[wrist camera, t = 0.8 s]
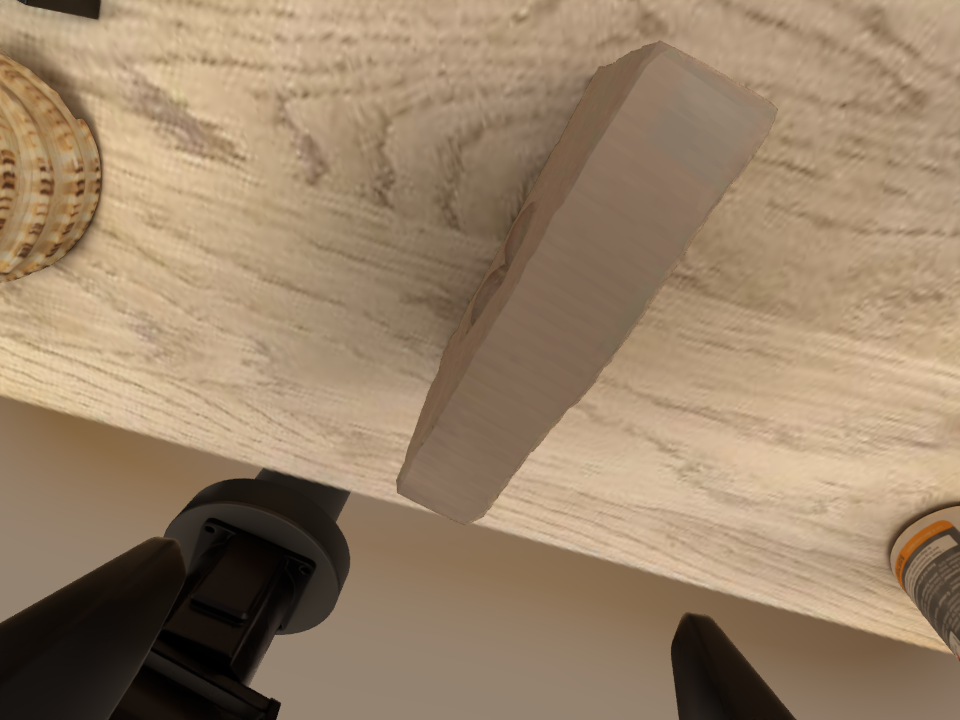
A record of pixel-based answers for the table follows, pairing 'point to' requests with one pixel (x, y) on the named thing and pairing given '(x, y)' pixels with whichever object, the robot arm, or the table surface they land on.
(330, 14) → the table surface
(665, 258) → the fossil
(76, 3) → the scale
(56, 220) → the seashell
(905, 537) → the pill bottle
